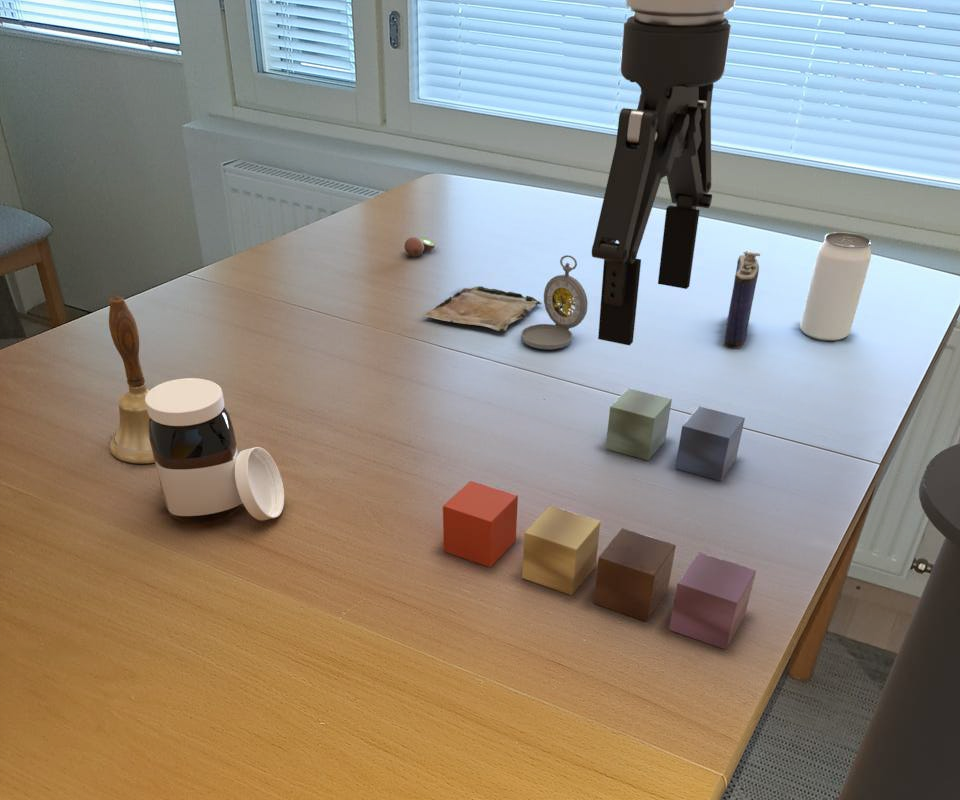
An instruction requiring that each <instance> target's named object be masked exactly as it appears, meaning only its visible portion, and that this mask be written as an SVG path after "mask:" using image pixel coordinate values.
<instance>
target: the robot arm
mask: <svg viewBox="0 0 960 800" xmlns="http://www.w3.org/2000/svg"><path fill="white" fill-rule="evenodd" d="M625 5H626V6H627V8H628V10H629V11H631V12H633V15H632V16H630V17H628V18H627V19H626V22H624V23H623V27H622V29H623V30H622V41H621V42H622V43H621V55H620V69H619V71H620V74H621V76H622V77H623V79H625V80H626V81H628V82H630V83H636V85H638V86H639V88H640V95H639V99H638V100H639V101H638V104H637V108H636V109H634V108H627V107H623V108H621V110H620V112H619V116H618V124H617V131H616V132H617V133H616V141H615V146H614V147H615V148H614V151H613V152H614V153H613V156H612V161H611V165H610V169H609V174H608V178H607V184H606V187H605V192H604V196H603V200H602V204H601V209H600V213H599V218H598V222H597V225H596V226H597V227H596V231H595V236H594V239H593V244H592V247H591V257H592V258H595V259H602V260H603V268H602V269H603V270H602V283H601V296H600V307H599V308H600V311H599V321H598V322H599V324H598V335H597V336H598V337H597V339H598V340H600V341H605V342H610V343H615V344H620V345H625V346H631V345H632V344H633V343H634V337H635V326H636V325H635V324H636V316H637V304H638V297H639V295H638V294H639V285H640V277H641V276H640V275H641V266H642V258H641V259H640V258H637V257H638V253H639V251H640V248H641V244H642V240H643V237H644V235H645V231H646V227H647V225H648V222H649V219H650V216H651V213H652V209H653V206H654V203H655V201H656V200H655V199H656V197H657V193H658V190H659V188H660V185H661V181H662V179H664V177H666V180H667V184H668V189H669V194H670V200H671V203H672V204H674V205H668V206H666V209H665V218H664V226H663V236H662V243H661V253H660V260H659V261H660V262H659V271H658V279H657V285H662V286H668V287H672V288H678V289H684V290H687V289H688V288H689V287H690V284H691V277H692V276H691V275H692V270H693V263H694V262H693V261H694V255H695V248H696V247H695V246H696V241H697V233H698V224H699V217H700V211H701V210H700V209H697V208H703V209H710V207H711V204H712V200H713V194H711V193H709V192H710V190H711V189H712V101H713V92H714V91H713V90H714V85H715V83H717V82H718V81H720V80H721V79H722V78H723V76H724V75H725V72H726V64H727V58H728V49H729V43H730V36H731V29H732V25H731V24H730V22H729V19H727V18H726V17H725V14H726V13H729V12H731V11H732V9H733V8H735V5H736V0H626V2H625ZM675 204H676V205H675Z"/></svg>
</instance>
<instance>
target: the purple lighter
mask: <svg viewBox="0 0 960 800" xmlns="http://www.w3.org/2000/svg"><path fill="white" fill-rule="evenodd" d="M760 256H761V253H760V252H752V251H750V252H749V251H747V250H746V251H743V254H741V255H739V256H738V258H737V261H736V262H737V263H736V269H735V275H734V282H733V287H732V292H731V297H730V304H729V309H728V314H727V318H726V324H725V326H726V327H725V330H724V333H725V334H724V338H723V345H724V346H725V347H727V348H730V349H739V348H742V346H743V345H744V344H745V342H746V340H747V335H748V328H749V323H750V317H751V313H752V307H753V302H754V297H755V292H756V286H757V282H758V277H759V271H760V265H759V261H758V259H757V258H756V257H760Z"/></svg>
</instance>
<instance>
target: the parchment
mask: <svg viewBox="0 0 960 800" xmlns="http://www.w3.org/2000/svg"><path fill="white" fill-rule="evenodd" d="M538 305H543V302H541V301H538V300H537V299H536V298H534V297H532V296H529V295H526V296H523V294H521V293H517V292H513V291H504V290H500V289H496V288H488V287H484V286H482V285H481V286H479V285H478V286H475V287H472V288H465V287H464V288H463V289H462V290H461V291H458V292H457V293H455V294H454V295H453V296H449V297H448V298H447V299H445V300H443V302H441V303H439V304H438V305H437V306H436V307H434V308H433V309H431V310H429V311H428V312H426V313H425V314H424V315H423V316H424V317H428V318H431V319H435V320H439V321H445V322H450V323H456V324H463V325H470V326H471V325H472V326H481V327H485V328H489V329H491V330H494V331H497V332H501V331H504V332H507V330H508V327H509V325H511V324H513V323H514V322H516V321H518V320H521V319H523V318H526V317H527V313H530V312H531V311H532V310H533V308H535V307H536V306H538Z"/></svg>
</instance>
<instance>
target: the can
mask: <svg viewBox="0 0 960 800" xmlns="http://www.w3.org/2000/svg"><path fill="white" fill-rule="evenodd" d="M871 245H872V240H871V239H870V238H869V237H867V236H864V235H862V234H860V233H859V234H858V233H855V232H847V231H837V232H830V233H826V235H824V241H823V242H822V243H821V245H820V246H819V248H818V250H817V254H816V258H815V262H814V266H813V270H812V274H811V278H810V282H809V285H808V290H807V294H806V295H807V296H806V298H805V303H804V307H803V310H802V314H801V315H802V316H801V320H800V325H799V328H800V330H801V333H803V334H804V335H806V336H807V337H808V338H811V339H814V340H818V341H824V342H825V341H826V342H836V341H841V340H844V339H846V337H848V336H849V335H850V332H851V331H852V327H853V323H854V320H855V316H856V313H857V309H858V306H859V301H860V298H861V295H862V291H863V288H864V284H865V280H866V276H867V273H868V271H869V266H870V261H871V258H872V251H871Z"/></svg>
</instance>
